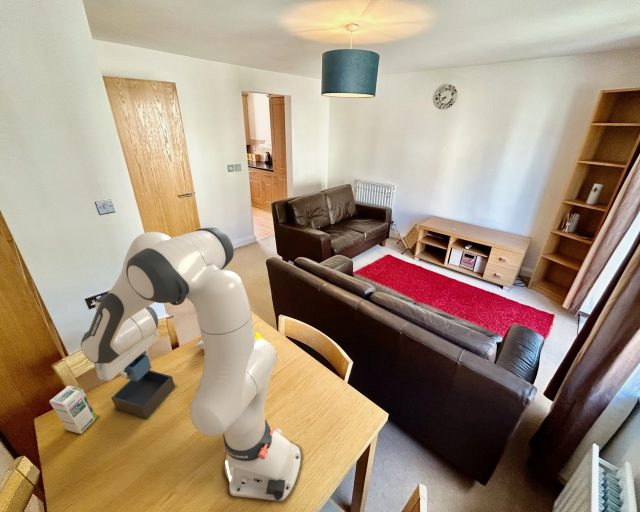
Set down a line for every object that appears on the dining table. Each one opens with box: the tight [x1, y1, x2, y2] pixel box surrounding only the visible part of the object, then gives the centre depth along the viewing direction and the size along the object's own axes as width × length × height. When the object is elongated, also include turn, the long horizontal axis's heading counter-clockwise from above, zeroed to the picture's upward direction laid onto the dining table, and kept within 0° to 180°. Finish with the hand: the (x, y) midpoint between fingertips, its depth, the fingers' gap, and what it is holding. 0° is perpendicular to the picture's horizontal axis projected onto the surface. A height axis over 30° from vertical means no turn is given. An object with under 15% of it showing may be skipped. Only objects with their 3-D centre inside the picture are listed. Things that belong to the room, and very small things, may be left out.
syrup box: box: [49, 385, 98, 435], centre depth 87 cm, size 6×6×14 cm
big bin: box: [111, 369, 176, 419], centre depth 98 cm, size 13×13×6 cm
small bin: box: [124, 354, 152, 381], centre depth 93 cm, size 6×6×6 cm
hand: (135, 367), depth 93 cm, fingers closed on small bin, 6 cm apart
